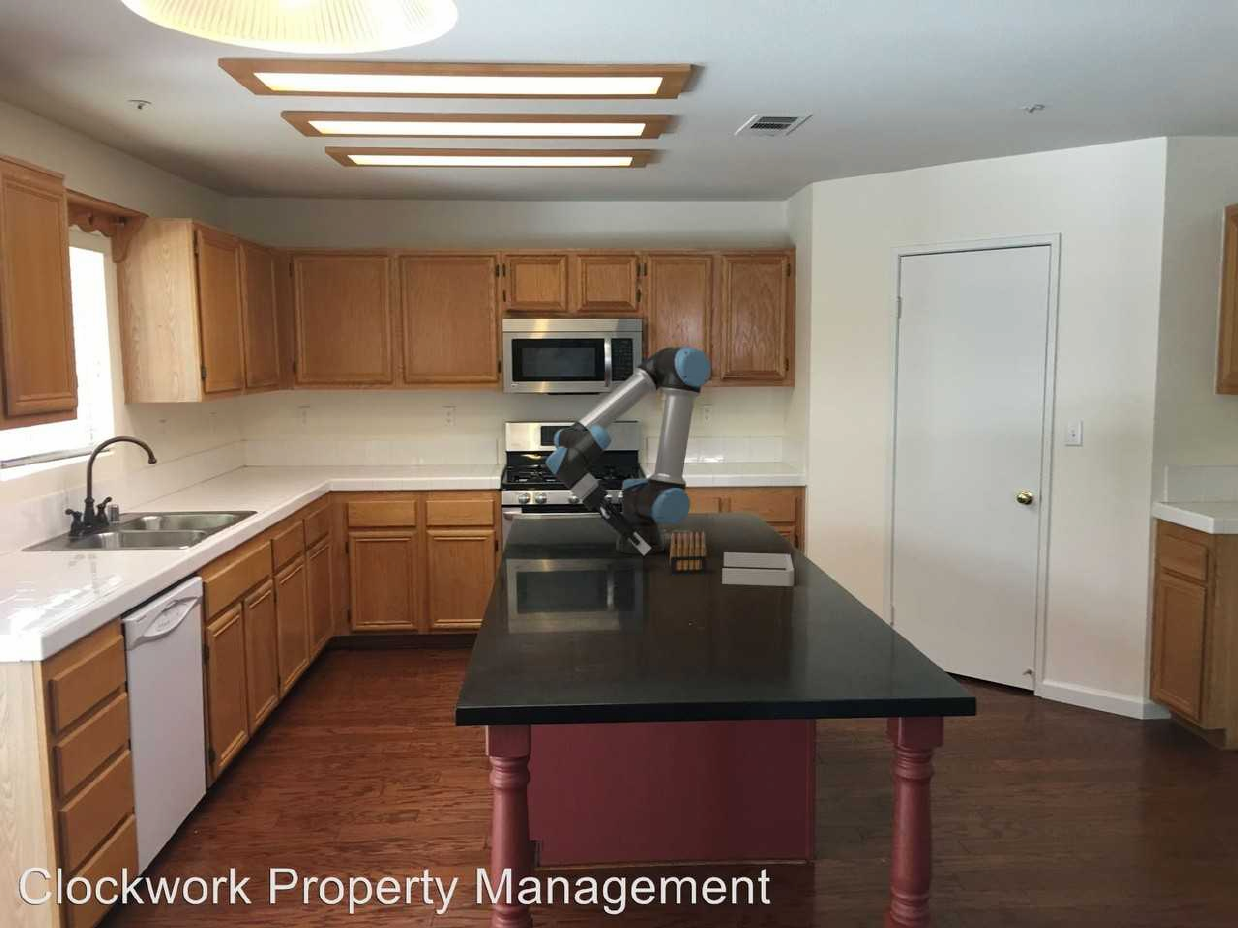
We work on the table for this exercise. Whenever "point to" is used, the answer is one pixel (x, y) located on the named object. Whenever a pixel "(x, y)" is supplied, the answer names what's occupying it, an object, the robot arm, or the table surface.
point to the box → (756, 574)
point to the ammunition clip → (688, 555)
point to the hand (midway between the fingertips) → (647, 551)
